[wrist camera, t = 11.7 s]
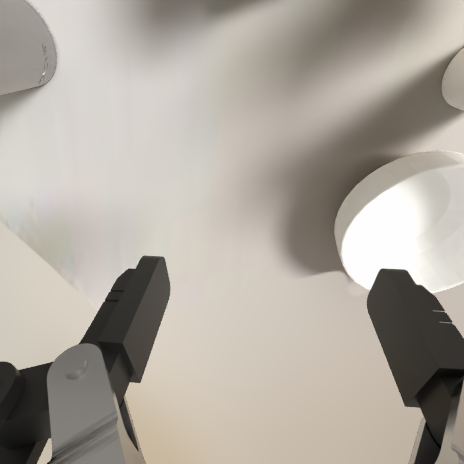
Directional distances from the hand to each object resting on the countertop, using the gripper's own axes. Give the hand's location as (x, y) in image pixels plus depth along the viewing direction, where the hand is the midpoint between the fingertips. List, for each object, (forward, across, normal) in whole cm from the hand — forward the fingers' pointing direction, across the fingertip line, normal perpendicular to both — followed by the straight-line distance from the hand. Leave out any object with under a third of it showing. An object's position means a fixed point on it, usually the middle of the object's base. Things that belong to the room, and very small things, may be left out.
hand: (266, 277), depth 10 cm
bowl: (+28, -20, +13) cm, 37 cm away
